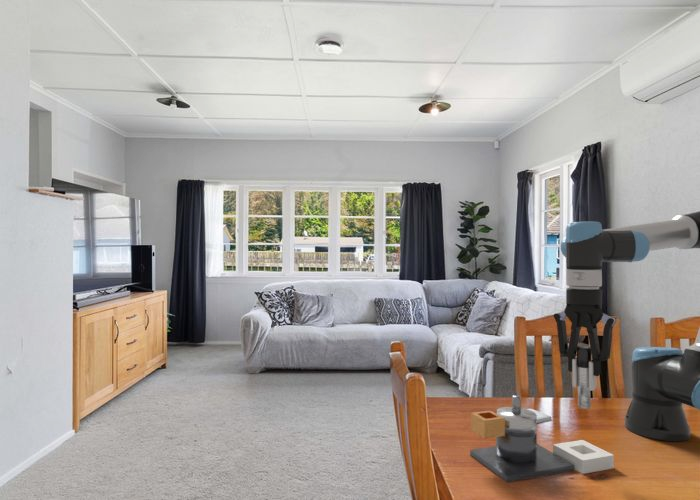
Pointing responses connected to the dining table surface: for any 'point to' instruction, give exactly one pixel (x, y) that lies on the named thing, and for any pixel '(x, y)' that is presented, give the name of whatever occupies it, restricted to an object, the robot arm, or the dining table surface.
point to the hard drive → (541, 416)
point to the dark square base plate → (520, 458)
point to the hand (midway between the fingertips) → (584, 387)
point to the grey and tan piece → (505, 421)
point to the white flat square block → (584, 456)
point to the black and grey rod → (583, 376)
